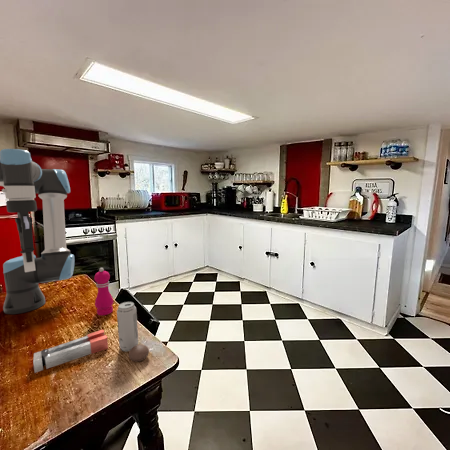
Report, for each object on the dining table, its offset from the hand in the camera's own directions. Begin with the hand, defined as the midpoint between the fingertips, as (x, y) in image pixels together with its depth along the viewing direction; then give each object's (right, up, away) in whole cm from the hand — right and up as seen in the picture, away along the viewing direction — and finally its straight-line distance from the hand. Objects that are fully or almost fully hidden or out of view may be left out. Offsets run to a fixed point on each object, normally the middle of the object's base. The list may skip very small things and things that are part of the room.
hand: (30, 270), depth 84 cm
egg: (+38, -27, -4) cm, 47 cm away
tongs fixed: (+16, -27, -3) cm, 31 cm away
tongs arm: (+16, -26, 0) cm, 31 cm away
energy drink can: (+32, -26, +2) cm, 42 cm away
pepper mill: (+12, -23, +26) cm, 37 cm away
